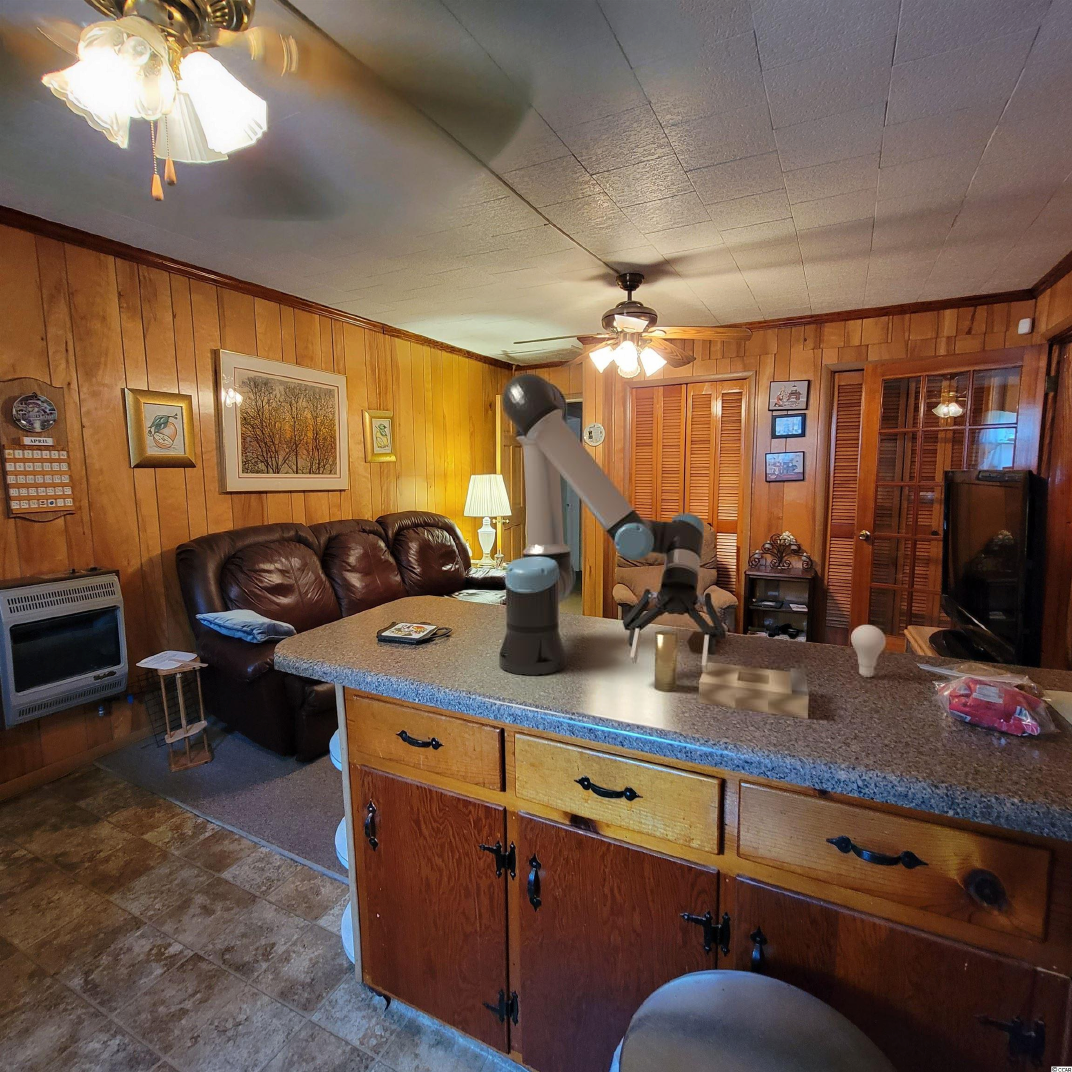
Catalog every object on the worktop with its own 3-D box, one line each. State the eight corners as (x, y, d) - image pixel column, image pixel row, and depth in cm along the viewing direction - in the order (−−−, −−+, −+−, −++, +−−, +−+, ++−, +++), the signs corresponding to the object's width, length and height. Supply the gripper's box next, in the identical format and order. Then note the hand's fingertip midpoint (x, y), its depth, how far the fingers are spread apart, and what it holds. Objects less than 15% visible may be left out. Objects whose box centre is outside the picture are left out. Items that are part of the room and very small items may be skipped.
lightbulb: (854, 670, 118) (856, 620, 117) (887, 677, 114) (890, 625, 112) (845, 677, 114) (847, 625, 113) (878, 685, 109) (881, 630, 108)
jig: (698, 702, 101) (699, 677, 101) (706, 681, 112) (707, 658, 112) (807, 718, 94) (808, 691, 93) (804, 694, 105) (805, 669, 104)
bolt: (718, 646, 142) (701, 660, 130) (701, 634, 145) (683, 646, 132) (730, 628, 141) (714, 640, 128) (713, 616, 143) (695, 627, 130)
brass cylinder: (652, 690, 107) (653, 635, 106) (656, 683, 111) (657, 629, 110) (674, 693, 106) (675, 637, 105) (678, 685, 109) (679, 631, 108)
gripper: (742, 589, 117) (736, 681, 104) (626, 582, 126) (609, 665, 114) (741, 568, 111) (735, 662, 99) (620, 562, 121) (601, 647, 109)
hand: (667, 664), depth 107 cm, fingers open, 13 cm apart
